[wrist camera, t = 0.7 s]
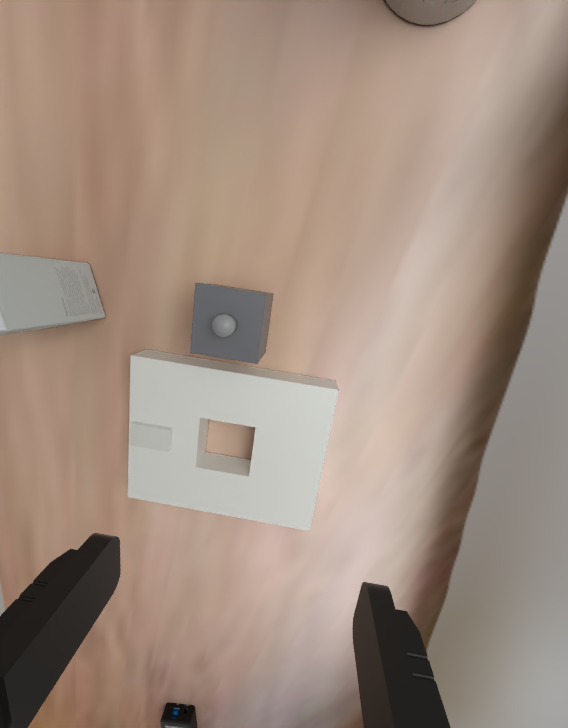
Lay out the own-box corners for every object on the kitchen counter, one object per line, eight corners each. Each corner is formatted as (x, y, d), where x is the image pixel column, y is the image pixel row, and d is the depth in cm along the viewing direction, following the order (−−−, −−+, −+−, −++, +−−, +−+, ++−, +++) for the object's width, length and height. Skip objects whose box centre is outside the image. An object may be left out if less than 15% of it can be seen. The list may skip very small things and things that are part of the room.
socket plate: (147, 349, 31) (126, 356, 27) (335, 380, 30) (339, 392, 27) (142, 480, 35) (124, 501, 31) (309, 510, 34) (309, 535, 31)
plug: (222, 285, 29) (189, 282, 21) (276, 293, 29) (264, 293, 21) (217, 338, 30) (184, 355, 22) (268, 347, 30) (254, 367, 22)
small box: (91, 262, 29) (-24, 246, 19) (108, 318, 31) (8, 331, 20) (20, 276, 30) (-126, 268, 20) (39, 330, 31) (-90, 348, 21)
